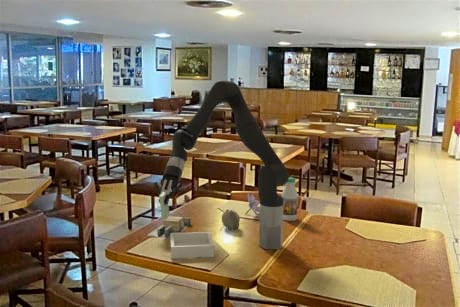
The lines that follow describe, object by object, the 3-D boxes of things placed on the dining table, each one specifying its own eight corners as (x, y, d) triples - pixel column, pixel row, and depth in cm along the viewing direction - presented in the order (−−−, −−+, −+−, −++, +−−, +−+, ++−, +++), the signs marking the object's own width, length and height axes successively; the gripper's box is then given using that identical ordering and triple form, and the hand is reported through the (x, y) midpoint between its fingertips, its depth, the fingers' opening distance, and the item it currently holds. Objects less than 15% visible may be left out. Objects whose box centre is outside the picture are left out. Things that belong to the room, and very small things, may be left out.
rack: (166, 223, 218) (166, 215, 217) (191, 226, 215) (191, 218, 214) (146, 237, 199) (146, 228, 198) (173, 240, 196) (173, 231, 195)
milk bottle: (277, 217, 230) (279, 177, 227) (291, 215, 234) (292, 175, 230) (286, 222, 223) (287, 180, 220) (300, 220, 227) (301, 179, 223)
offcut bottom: (167, 224, 213) (167, 220, 213) (183, 226, 211) (183, 222, 211) (161, 228, 208) (161, 224, 207) (178, 230, 206) (178, 226, 205)
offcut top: (166, 220, 213) (166, 216, 212) (182, 222, 211) (182, 217, 211) (162, 224, 207) (162, 220, 207) (178, 225, 206) (178, 221, 205)
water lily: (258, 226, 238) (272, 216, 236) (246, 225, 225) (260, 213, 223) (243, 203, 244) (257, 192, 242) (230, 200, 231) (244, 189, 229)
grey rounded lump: (237, 236, 210) (241, 218, 205) (218, 232, 210) (222, 214, 205) (239, 223, 218) (242, 206, 213) (220, 220, 218) (224, 202, 213)
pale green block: (166, 214, 204) (163, 191, 199) (169, 214, 203) (166, 191, 199) (162, 219, 200) (159, 196, 196) (165, 219, 200) (162, 196, 195)
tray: (214, 257, 179) (214, 245, 178) (171, 258, 177) (171, 247, 176) (209, 242, 194) (209, 231, 194) (170, 243, 192) (170, 233, 191)
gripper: (157, 163, 206) (144, 197, 197) (186, 165, 203) (175, 200, 193) (162, 173, 212) (150, 207, 203) (191, 175, 208) (180, 209, 199)
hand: (162, 203), depth 198 cm, fingers closed on pale green block, 1 cm apart
